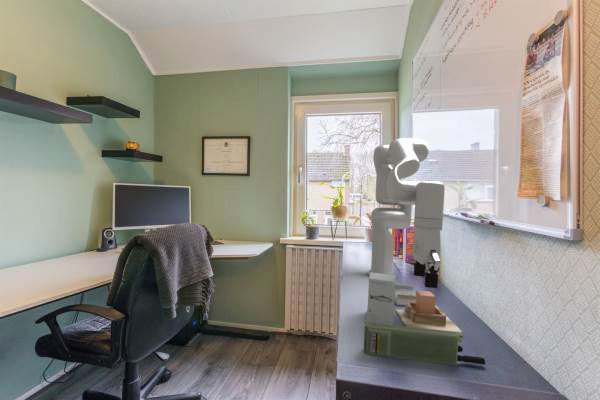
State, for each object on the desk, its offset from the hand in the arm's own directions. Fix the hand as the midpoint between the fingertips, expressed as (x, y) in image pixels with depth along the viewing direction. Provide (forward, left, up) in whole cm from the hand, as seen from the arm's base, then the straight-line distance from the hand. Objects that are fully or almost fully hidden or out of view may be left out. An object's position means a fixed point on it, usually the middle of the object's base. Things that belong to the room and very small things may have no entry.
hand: (424, 281), depth 77 cm
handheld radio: (+20, -7, -12) cm, 25 cm away
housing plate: (-13, -2, -11) cm, 17 cm away
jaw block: (+1, 0, -10) cm, 10 cm away
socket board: (+2, 0, -11) cm, 11 cm away
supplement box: (+3, -13, -12) cm, 17 cm away
